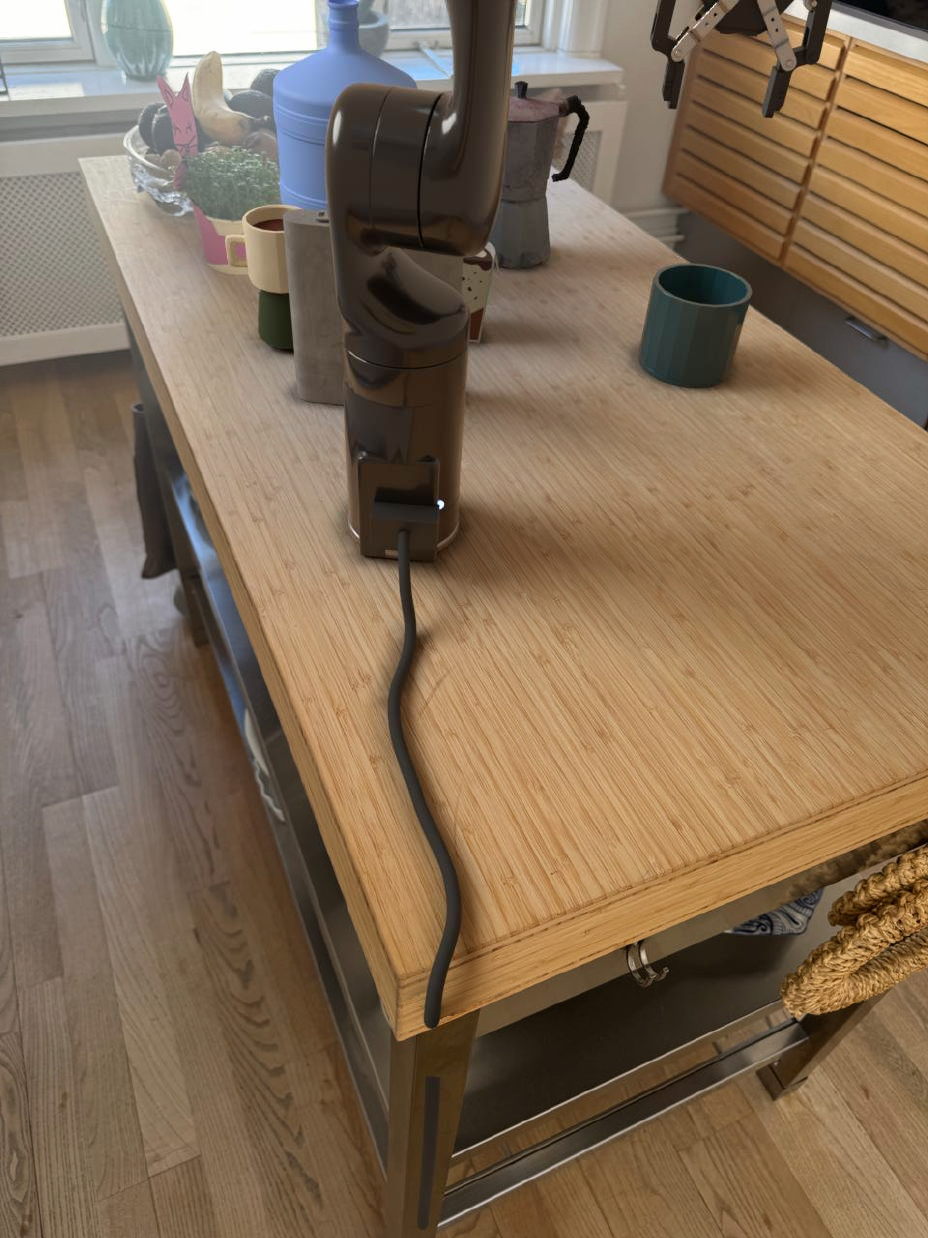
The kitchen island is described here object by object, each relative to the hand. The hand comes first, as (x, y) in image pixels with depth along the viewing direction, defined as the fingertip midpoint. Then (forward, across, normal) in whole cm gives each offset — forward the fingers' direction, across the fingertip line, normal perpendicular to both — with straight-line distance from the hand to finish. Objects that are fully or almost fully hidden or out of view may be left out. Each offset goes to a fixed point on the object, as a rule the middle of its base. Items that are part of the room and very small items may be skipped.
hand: (719, 111), depth 83 cm
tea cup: (+25, +2, +1) cm, 25 cm away
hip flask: (+26, -29, -11) cm, 41 cm away
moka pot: (+25, -17, +26) cm, 40 cm away
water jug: (+25, -37, +17) cm, 48 cm away
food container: (+25, -25, +5) cm, 36 cm away
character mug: (+26, -40, -1) cm, 48 cm away
